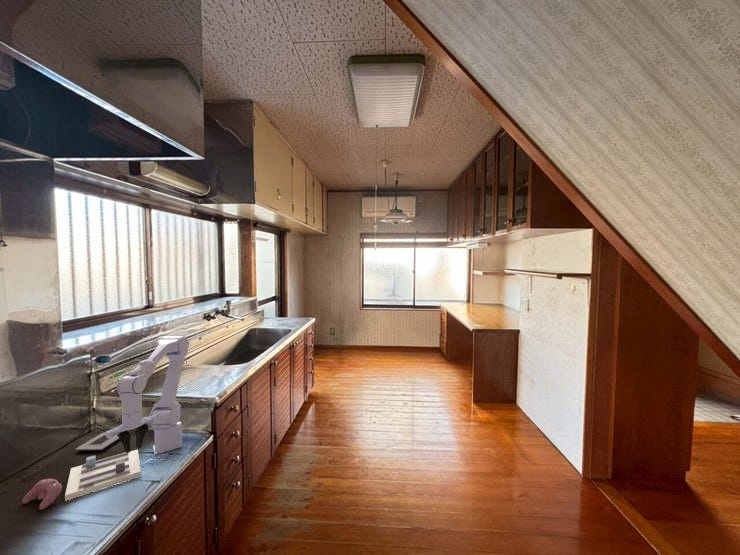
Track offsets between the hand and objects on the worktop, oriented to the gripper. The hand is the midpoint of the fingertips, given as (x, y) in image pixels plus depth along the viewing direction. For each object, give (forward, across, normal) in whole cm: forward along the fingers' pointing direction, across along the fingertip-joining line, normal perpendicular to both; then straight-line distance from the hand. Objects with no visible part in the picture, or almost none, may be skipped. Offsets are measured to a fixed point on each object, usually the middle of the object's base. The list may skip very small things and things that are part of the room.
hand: (133, 449), depth 114 cm
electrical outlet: (+9, -3, -34) cm, 35 cm away
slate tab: (+6, +7, -13) cm, 16 cm away
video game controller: (+9, +21, -8) cm, 24 cm away
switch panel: (+8, +6, -7) cm, 12 cm away
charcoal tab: (+6, +3, -1) cm, 7 cm away
